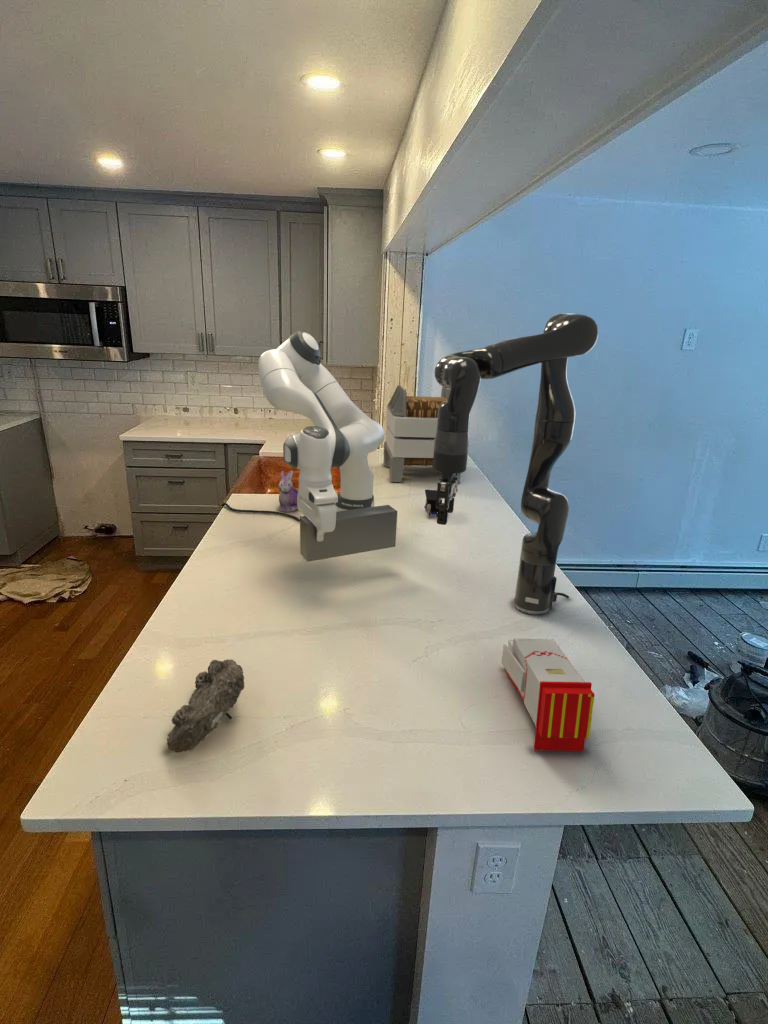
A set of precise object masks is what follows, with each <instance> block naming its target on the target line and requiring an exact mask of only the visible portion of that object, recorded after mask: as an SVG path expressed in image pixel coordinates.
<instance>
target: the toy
mask: <svg viewBox="0 0 768 1024" xmlns="http://www.w3.org/2000/svg"><path fill="white" fill-rule="evenodd" d="M500 661H501V662H500V663H501V664H502V666H503V668H504V671H505V673H506V674H507V676H508V678H509V679H510V681H511V684H512V685H513V686H514V688H515V691H517V693H518V695H519V696H520V699H521V700H522V702H523V704H524V706H525V708H526V711H527V712H528V714H529V716H530V718H531V720H532V723H533V724H534V726H535V731H534V741H533V750H534V751H554V752H555V751H556V752H557V751H558V752H564V751H565V752H584V751H585V743H586V739H590V737H591V736H590V735H591V727H592V718H593V710H594V702H595V692H593V690H592V685H593V684H592V682H590V681H585V679H584V678H583V676H582V675H581V674H580V673H579V672H578V670H577V669H576V668H575V666H574V665H573V663H572V662H571V661H570V659H569V658H568V657H567V655H566V654H565V653H564V651H563V650H562V649H561V648H560V646H559V644H558V643H557V642H556V640H554V638H517V637H515V638H512V639H508V643H507V644H503V647H502V653H501V660H500Z"/></svg>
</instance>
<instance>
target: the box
mask: <svg viewBox="0 0 768 1024" xmlns="http://www.w3.org/2000/svg"><path fill="white" fill-rule="evenodd" d="M299 519H300V522H299V554H300V555H301V557H302V558H303V559H304V560H305V561H306V562H307V563H309V562H314V561H320V560H325V559H326V560H327V559H331V558H337V557H343V556H350V555H356V554H361V553H367V552H373V551H379V550H384V549H385V550H386V549H391V548H395V547H397V546H396V543H397V529H398V528H397V525H398V510H397V509H395V508H394V507H393V506H391V505H389V504H384V505H377V506H375V505H374V507H368V508H360V509H353V510H345V511H338V512H336V525H335V529H334V531H332V532H326V533H324V538H323V541H320V542H318V541H317V540H316V534H317V527H316V526H315V525H313V523H312V522H311V521H310V520H309V519H308V518H307V517H306V516H304V515H300V516H299Z"/></svg>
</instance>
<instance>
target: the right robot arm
mask: <svg viewBox="0 0 768 1024" xmlns="http://www.w3.org/2000/svg"><path fill="white" fill-rule="evenodd" d="M598 337H599V327H598V324H597V322H596V320H595V319H593V318H592V317H591V316H589V315H586V314H581V313H564V312H563V313H555V314H553V315H552V316H550V317H549V319H548V320H547V321H546V323H545V325H544V328H543V331H542V333H539V334H532V335H525V336H520V337H513V338H509V339H504V340H501V341H497V342H494V343H492V344H488V345H486V346H484V347H481V348H476V349H469V350H464V351H458V352H454V353H450V354H448V355H445V356H444V357H442V358H441V359H440V360H439V361H438V362H437V363H436V365H435V367H434V373H433V374H434V378H435V379H434V380H436V382H437V383H438V384H439V386H440V387H445V388H447V389H450V394H449V398H448V401H444V402H442V403H441V404H440V405H439V408H438V418H437V430H436V435H435V442H434V456H433V466H432V469H433V470H434V471H436V472H439V473H440V474H441V473H442V474H441V475H440V478H438V481H437V487H436V488H437V489H436V490H437V498H436V505H435V506H436V508H438V512H437V513H438V514H437V517H436V524H438V525H442V526H445V525H447V524H448V516H449V514H452V513H453V512H454V507H455V498H456V496H457V492H458V486H459V485H458V484H459V483H458V474H459V473H461V474H463V473H464V472H466V471H467V467H468V466H467V465H468V455H469V445H470V422H471V421H470V419H471V411H472V408H473V406H474V404H475V400H476V397H477V394H478V392H479V389H480V386H481V385H480V384H481V380H493V379H496V378H499V377H502V376H505V375H508V374H511V373H513V372H516V371H520V370H522V369H525V368H528V367H531V366H535V365H538V364H540V367H541V368H540V378H539V379H540V380H539V388H538V389H539V390H538V391H539V392H538V400H537V407H536V412H535V419H534V427H533V434H532V435H533V436H532V445H531V451H530V458H529V463H528V469H527V473H526V476H525V481H524V486H523V488H522V489H523V490H522V494H521V500H520V511H521V514H522V515H523V517H525V518H526V519H527V520H529V521H531V522H533V523H535V524H536V525H537V524H538V526H537V531H536V532H529V533H526V534H525V535H524V536H523V538H522V542H521V550H520V555H519V556H520V557H519V564H518V573H517V578H516V587H515V593H514V599H513V607H514V608H515V609H516V610H518V611H519V612H521V613H525V614H528V615H534V616H537V615H538V616H540V615H544V614H547V613H548V612H549V611H550V610H552V609H553V604H554V603H556V602H557V600H558V596H561V597H564V598H566V599H569V598H570V596H569V595H568V594H566V593H563V592H556V591H555V590H556V585H557V576H555V572H556V566H557V559H558V554H559V553H558V552H559V547H560V545H561V543H562V542H563V539H564V535H565V531H566V526H567V522H568V518H569V511H570V505H569V504H570V503H569V500H568V498H567V497H566V496H565V495H564V494H562V493H560V492H558V491H555V490H552V489H549V484H550V478H551V473H552V470H553V467H555V464H556V463H557V461H558V460H559V458H560V457H562V455H563V454H564V453H565V451H566V450H567V449H568V447H569V446H570V443H571V442H572V439H573V434H574V427H575V421H576V407H575V403H574V398H573V396H572V393H571V390H570V387H569V386H570V385H569V381H568V377H567V376H568V374H567V372H568V371H567V370H568V361H569V358H572V357H581V356H584V355H587V354H588V353H589V352H590V351H592V349H594V347H595V345H596V344H597V341H598ZM441 500H442V501H443V500H444V501H443V502H442V503H441Z"/></svg>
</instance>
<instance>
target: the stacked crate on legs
mask: <svg viewBox="0 0 768 1024" xmlns="http://www.w3.org/2000/svg"><path fill="white" fill-rule="evenodd" d="M450 390H451V389H448V388H445V387H443V386H441V392H440V393H441V394H440V396H415V395H414V396H413V395H412V396H411V395H407V394H408V393H407V390H406V389H404V388H403V387H402V385H399V384H398V385H397V386H396V388H395V390H394V392H393V394H392V395H391V398H390V400H389V402H388V404H387V405H386V413H385V414H386V415H385V423H386V428H385V437H384V441H383V466H384V467H388V468H389V475H388V476H389V477H388V478H389V480H390V482H391V483H402V482H403V475H404V469H405V466H406V467H407V466H411V467H412V466H413V467H415V466H416V467H417V466H418V467H433V456H434V442H435V435H436V430H437V418H438V408H439V405H440V404H441V403H442V402H444V401H448V398H449V394H450ZM440 474H441V475H442V473H441V472H440ZM461 474H462V473H459V474H458V484H459V483H461Z"/></svg>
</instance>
